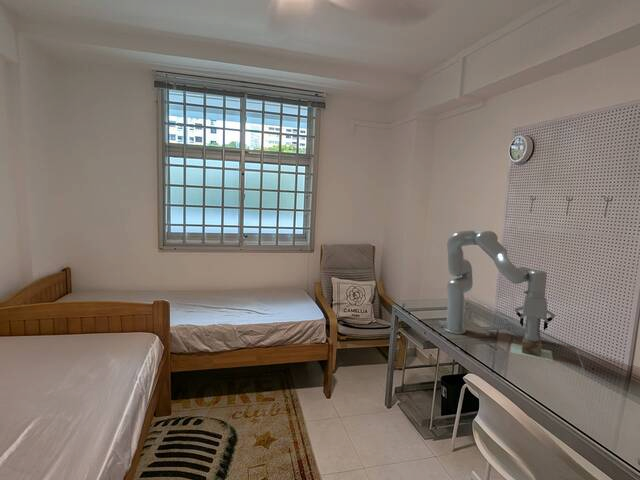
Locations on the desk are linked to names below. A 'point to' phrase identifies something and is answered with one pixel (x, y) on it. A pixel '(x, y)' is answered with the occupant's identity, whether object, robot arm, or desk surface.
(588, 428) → the desk surface
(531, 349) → the walnut block
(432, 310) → the desk surface
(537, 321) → the energy drink can
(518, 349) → the base board
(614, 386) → the desk surface
